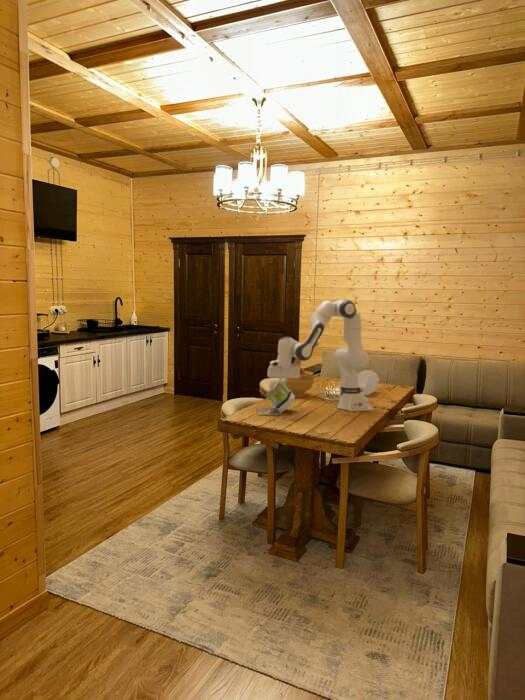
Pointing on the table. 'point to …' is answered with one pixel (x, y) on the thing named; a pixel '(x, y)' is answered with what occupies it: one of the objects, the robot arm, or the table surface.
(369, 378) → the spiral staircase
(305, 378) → the terracotta urn
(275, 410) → the mat
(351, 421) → the table surface
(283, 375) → the robot arm
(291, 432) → the table surface
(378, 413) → the table surface
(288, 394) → the tea box
